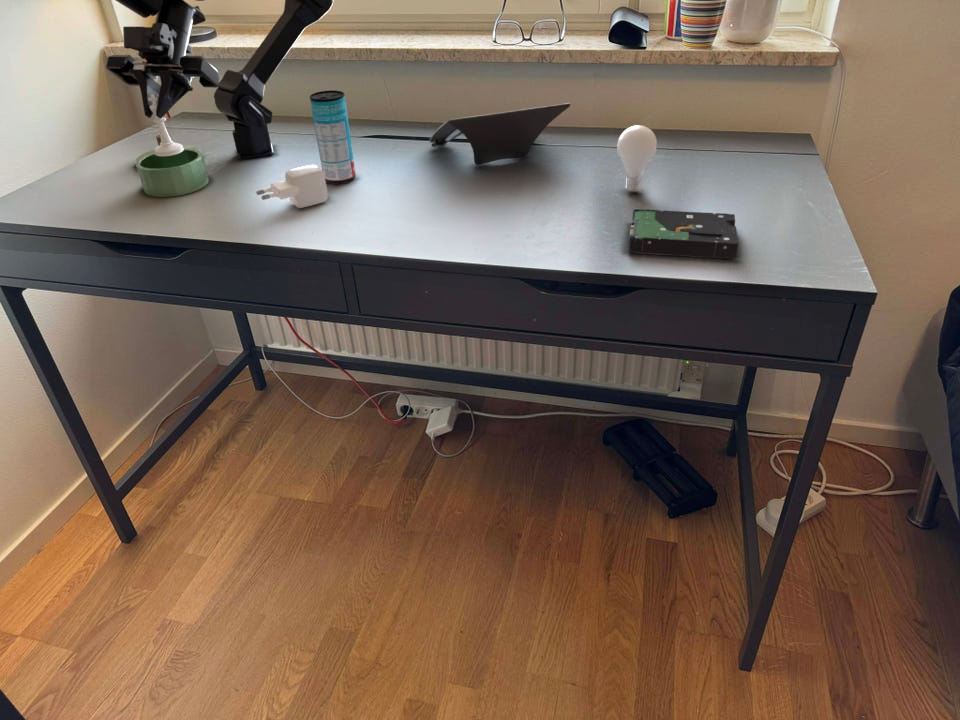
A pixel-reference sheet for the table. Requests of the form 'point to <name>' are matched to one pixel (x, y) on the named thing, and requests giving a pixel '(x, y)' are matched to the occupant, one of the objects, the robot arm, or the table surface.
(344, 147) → the beverage can
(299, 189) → the power adapter
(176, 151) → the chess piece
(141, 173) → the tin
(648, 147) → the lightbulb
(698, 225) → the disk drive
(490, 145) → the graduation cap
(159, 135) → the tin lid
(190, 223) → the table surface
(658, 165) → the table surface
